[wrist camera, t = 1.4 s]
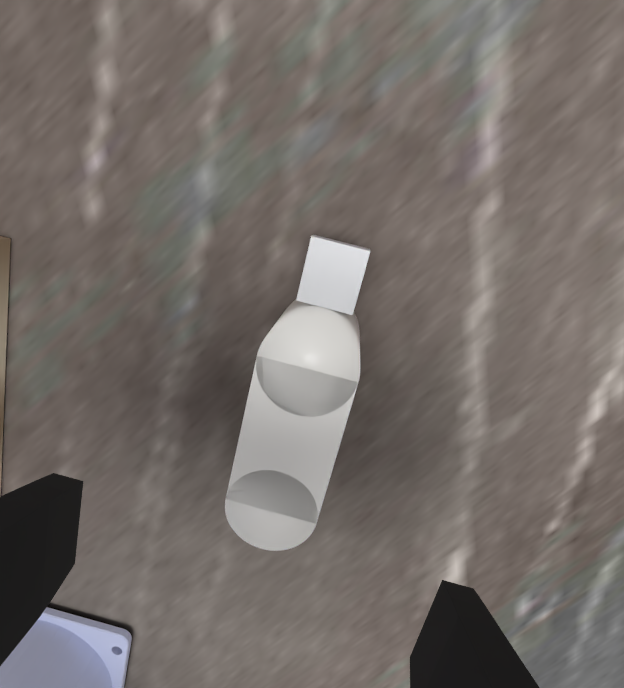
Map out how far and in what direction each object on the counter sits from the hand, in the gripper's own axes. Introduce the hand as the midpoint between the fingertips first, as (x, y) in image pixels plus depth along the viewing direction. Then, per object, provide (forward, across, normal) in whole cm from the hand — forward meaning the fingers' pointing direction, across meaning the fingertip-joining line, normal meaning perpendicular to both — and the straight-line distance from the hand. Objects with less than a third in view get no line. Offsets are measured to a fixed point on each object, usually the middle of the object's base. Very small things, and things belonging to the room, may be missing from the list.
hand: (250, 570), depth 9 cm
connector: (+9, 0, 0) cm, 9 cm away
